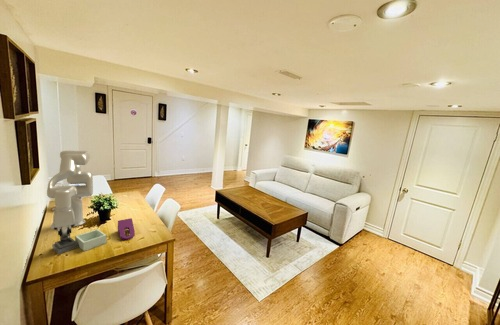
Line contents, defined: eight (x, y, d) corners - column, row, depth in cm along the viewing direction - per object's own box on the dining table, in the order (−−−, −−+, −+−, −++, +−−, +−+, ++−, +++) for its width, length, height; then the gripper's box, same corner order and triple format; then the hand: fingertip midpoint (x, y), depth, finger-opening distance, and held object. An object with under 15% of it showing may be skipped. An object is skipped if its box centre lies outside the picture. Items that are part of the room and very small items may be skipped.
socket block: (52, 248, 132) (52, 242, 131) (72, 242, 140) (71, 236, 139) (58, 254, 126) (57, 247, 126) (78, 247, 135) (77, 241, 134)
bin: (75, 244, 138) (75, 236, 137) (97, 236, 149) (97, 229, 149) (83, 251, 132) (83, 242, 131) (106, 242, 143) (106, 234, 142)
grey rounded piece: (59, 242, 130) (58, 223, 128) (61, 238, 134) (59, 219, 131) (69, 240, 132) (68, 221, 130) (70, 236, 136) (69, 218, 134)
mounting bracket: (134, 243, 155) (131, 225, 166) (135, 236, 151) (131, 218, 163) (120, 246, 149) (117, 227, 161) (120, 239, 145) (117, 220, 157)
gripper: (44, 213, 121) (46, 241, 124) (80, 208, 132) (81, 234, 135) (46, 208, 127) (48, 235, 130) (80, 204, 137) (81, 229, 141)
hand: (65, 234), depth 133 cm, fingers closed on grey rounded piece, 3 cm apart
